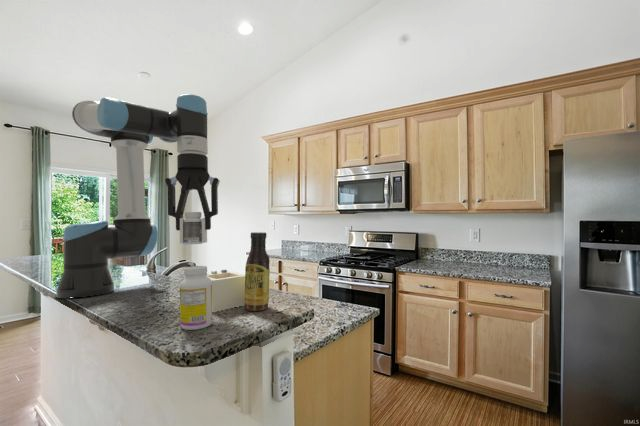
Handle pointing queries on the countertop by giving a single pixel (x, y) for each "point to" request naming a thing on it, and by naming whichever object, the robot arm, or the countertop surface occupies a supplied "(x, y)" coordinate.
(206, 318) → the supplement bottle
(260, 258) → the sauce bottle
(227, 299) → the cream open-top box
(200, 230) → the pill bottle
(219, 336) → the countertop surface
